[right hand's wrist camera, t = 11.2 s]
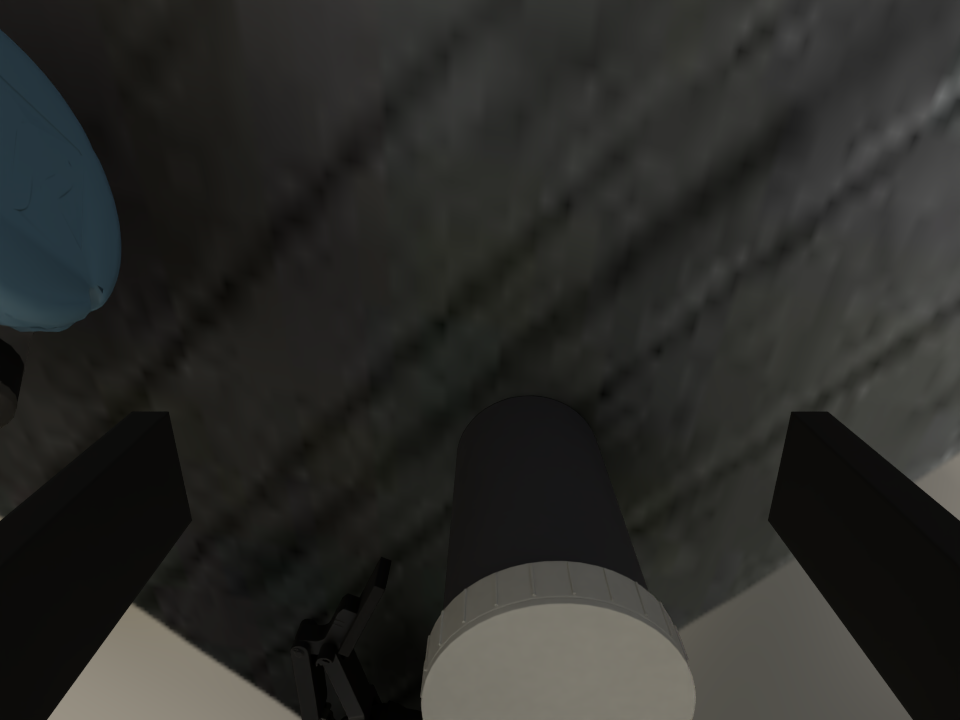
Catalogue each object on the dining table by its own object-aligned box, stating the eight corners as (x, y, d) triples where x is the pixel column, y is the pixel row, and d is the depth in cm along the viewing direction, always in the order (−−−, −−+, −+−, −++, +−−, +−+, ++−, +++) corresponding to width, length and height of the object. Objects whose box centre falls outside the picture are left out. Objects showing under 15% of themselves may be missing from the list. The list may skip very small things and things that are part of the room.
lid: (733, 649, 27) (756, 698, 24) (560, 779, 30) (566, 833, 28) (541, 512, 24) (547, 552, 22) (375, 672, 27) (365, 721, 25)
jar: (628, 451, 43) (730, 689, 25) (533, 540, 46) (564, 810, 28) (520, 367, 41) (547, 563, 23) (428, 467, 44) (387, 710, 26)
